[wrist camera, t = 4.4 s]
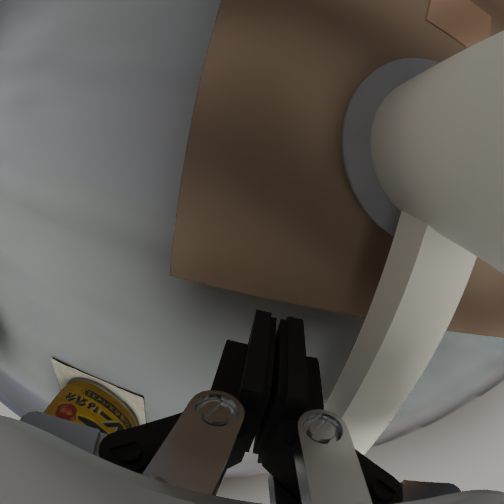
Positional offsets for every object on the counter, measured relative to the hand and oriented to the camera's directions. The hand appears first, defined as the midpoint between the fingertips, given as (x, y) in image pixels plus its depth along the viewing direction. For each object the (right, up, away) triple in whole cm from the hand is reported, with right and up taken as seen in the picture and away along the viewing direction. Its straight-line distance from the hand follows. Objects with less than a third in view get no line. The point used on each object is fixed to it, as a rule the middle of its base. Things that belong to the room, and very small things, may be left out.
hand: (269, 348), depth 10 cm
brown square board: (+7, +10, -2) cm, 13 cm away
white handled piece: (+7, +2, -1) cm, 7 cm away
